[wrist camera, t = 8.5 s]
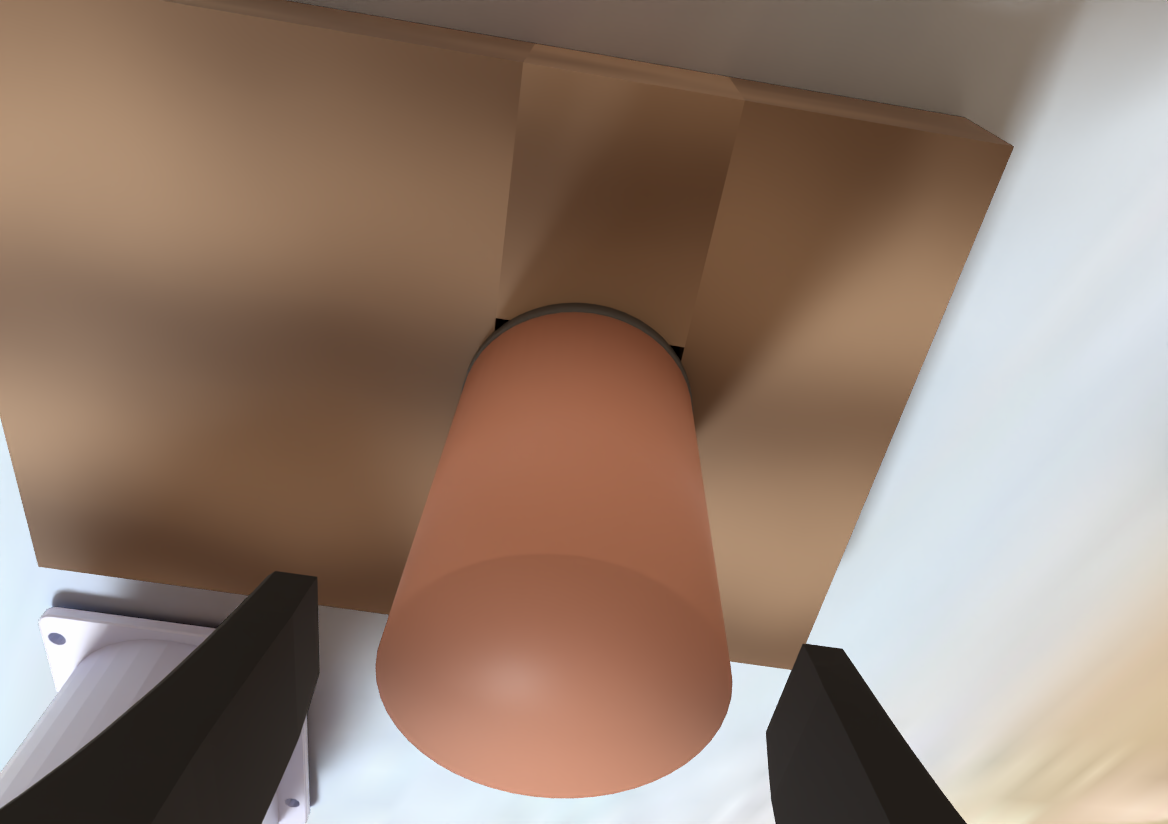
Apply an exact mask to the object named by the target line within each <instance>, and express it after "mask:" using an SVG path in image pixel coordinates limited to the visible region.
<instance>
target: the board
mask: <svg viewBox="0 0 1168 824" xmlns="http://www.w3.org/2000/svg"><path fill="white" fill-rule="evenodd" d="M1013 148H1014V146H1012V145H1011V144H1009V143H1007V142H1006V141H1004V140H1002V139H1000V138H999V137H997V136H995V135H994V134H992V133H990V132H988V131H987V130H985V129H983V128H982V127H980V126H978V125H977V124H975V123H973V122H971V121H970V120H968V119H966V118H965V117H959V116H953V115H948V114H942V113H936V112H930V111H924V110H919V109H913V108H907V107H901V106H895V105H890V104H884V103H878V102H872V101H866V100H861V99H855V98H849V97H843V96H837V95H832V94H826V93H820V92H814V91H808V90H803V89H797V88H791V87H785V86H779V85H774V84H768V83H762V82H756V81H750V80H745V79H739V78H733V77H727V76H721V75H716V74H710V73H704V72H698V71H692V70H687V69H681V68H675V67H669V66H663V65H658V64H652V63H646V62H640V61H634V60H629V59H623V58H617V57H611V56H605V55H600V54H594V53H588V52H582V51H576V50H571V49H565V48H559V47H553V46H547V45H542V44H536V43H530V42H524V41H518V40H513V39H507V38H501V37H495V36H489V35H483V34H478V33H472V32H466V31H460V30H454V29H449V28H443V27H437V26H431V25H425V24H420V23H414V22H408V21H402V20H396V19H391V18H385V17H379V16H373V15H367V14H362V13H356V12H350V11H344V10H338V9H333V8H327V7H321V6H315V5H309V4H304V3H298V2H292V1H286V0H0V418H1V422H2V426H3V429H4V433H5V437H6V441H7V445H8V449H9V453H10V457H11V461H12V465H13V469H14V472H15V476H16V480H17V484H18V488H19V492H20V496H21V500H22V504H23V508H24V512H25V516H26V519H27V523H28V527H29V531H30V535H31V539H32V543H33V547H34V551H35V555H36V559H37V562H38V566H39V567H45V568H52V569H60V570H67V571H74V572H81V573H89V574H96V575H103V576H111V577H118V578H125V579H133V580H140V581H147V582H154V583H162V584H169V585H176V586H184V587H191V588H198V589H206V590H213V591H220V592H227V593H235V594H242V595H250V594H251V593H252V592H253V591H254V590H255V589H256V588H257V587H258V585H259V584H260V583H261V582H262V581H263V580H264V579H265V578H266V577H267V576H268V575H270V574H271V573H273V572H274V571H280V572H287V573H294V574H301V575H309V576H316V577H317V580H318V605H322V606H330V607H337V608H344V609H352V610H359V611H366V612H373V613H381V614H388V615H389V614H390V611H391V607H392V604H393V601H394V598H395V595H396V592H397V589H398V586H399V583H400V580H401V577H402V574H403V571H404V568H405V565H406V562H407V559H408V556H409V553H410V549H411V546H412V543H413V540H414V537H415V534H416V531H417V528H418V525H419V522H420V519H421V516H422V513H423V510H424V507H425V504H426V501H427V498H428V495H429V491H430V488H431V485H432V482H433V479H434V476H435V473H436V470H437V467H438V464H439V461H440V458H441V455H442V452H443V449H444V446H445V443H446V440H447V437H448V433H449V430H450V427H451V424H452V421H453V418H454V415H455V412H456V409H457V406H458V403H459V400H460V397H461V391H462V386H463V383H464V380H465V377H466V374H467V371H468V368H469V365H470V363H471V361H472V359H473V357H474V355H475V354H476V352H477V351H478V349H479V348H480V347H481V345H482V344H483V342H484V341H485V340H486V339H487V338H488V337H489V336H490V335H491V334H492V333H493V332H494V331H495V330H497V329H498V328H499V327H501V326H502V325H503V324H504V319H506V320H511V319H513V318H514V317H516V316H518V315H520V314H523V313H525V312H527V311H530V310H532V309H536V308H539V307H543V306H547V305H553V304H560V303H589V304H597V305H601V306H606V307H611V308H613V309H616V310H619V311H622V312H625V313H627V314H629V315H631V316H633V317H635V318H637V319H639V320H641V321H642V322H644V323H645V324H647V325H648V326H650V327H651V328H653V329H654V330H655V331H656V332H657V333H658V334H660V335H661V336H662V337H663V338H664V339H665V340H666V341H667V343H668V344H669V345H670V346H671V347H672V348H673V350H674V351H675V353H676V354H677V356H678V357H679V359H680V360H681V362H682V365H683V367H684V369H685V371H686V373H687V377H688V380H689V384H690V388H691V394H692V402H693V417H694V424H695V431H696V438H697V444H698V451H699V458H700V464H701V471H702V478H703V485H704V491H705V498H706V505H707V511H708V518H709V525H710V532H711V538H712V545H713V552H714V558H715V565H716V572H717V579H718V585H719V592H720V599H721V605H722V612H723V619H724V626H725V632H726V639H727V646H728V652H729V659H730V661H731V662H738V663H746V664H753V665H760V666H768V667H775V668H782V669H789V670H792V668H793V666H794V663H795V661H796V658H797V656H798V654H799V651H800V649H801V646H802V644H806V642H807V639H808V637H809V635H810V632H811V630H812V627H813V625H814V623H815V620H816V618H817V615H818V613H819V611H820V608H821V606H822V603H823V601H824V599H825V596H826V594H827V592H828V589H829V587H830V584H831V582H832V580H833V577H834V575H835V572H836V570H837V568H838V565H839V563H840V561H841V558H842V556H843V553H844V551H845V549H846V546H847V544H848V541H849V539H850V537H851V534H852V532H853V529H854V527H855V525H856V522H857V520H858V518H859V515H860V513H861V510H862V508H863V506H864V503H865V501H866V498H867V496H868V494H869V491H870V489H871V487H872V484H873V482H874V479H875V477H876V475H877V472H878V470H879V467H880V465H881V463H882V460H883V458H884V455H885V453H886V451H887V448H888V446H889V444H890V441H891V439H892V436H893V434H894V432H895V429H896V427H897V424H898V422H899V420H900V417H901V415H902V413H903V410H904V408H905V405H906V403H907V401H908V398H909V396H910V393H911V391H912V389H913V386H914V384H915V381H916V379H917V377H918V374H919V372H920V370H921V367H922V365H923V362H924V360H925V358H926V355H927V353H928V350H929V348H930V346H931V343H932V341H933V339H934V336H935V334H936V331H937V329H938V327H939V324H940V322H941V319H942V317H943V315H944V312H945V310H946V307H947V305H948V303H949V300H950V298H951V296H952V293H953V291H954V288H955V286H956V284H957V281H958V279H959V276H960V274H961V272H962V269H963V267H964V265H965V262H966V260H967V257H968V255H969V253H970V250H971V248H972V245H973V243H974V241H975V238H976V236H977V233H978V231H979V229H980V226H981V224H982V222H983V219H984V217H985V214H986V212H987V210H988V207H989V205H990V202H991V200H992V198H993V195H994V193H995V191H996V188H997V186H998V183H999V181H1000V179H1001V176H1002V174H1003V171H1004V169H1005V167H1006V164H1007V162H1008V159H1009V157H1010V155H1011V152H1012V150H1013Z"/></svg>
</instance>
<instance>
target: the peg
mask: <svg viewBox="0 0 1168 824" xmlns="http://www.w3.org/2000/svg"><path fill="white" fill-rule="evenodd" d="M376 680H377V685H378V689H379V693H380V697H381V700H382V702H383V704H384V706H385V709H386V711H387V713H388V714H389V716H390V718H391V719H392V721H393V722H394V724H395V725H396V727H397V728H398V729H399V730H400V731H401V733H402V734H403V735H404V736H405V737H406V738H407V739H408V741H410V742H411V743H412V744H413V745H414V746H415V747H416V748H417V749H418V750H420V751H421V752H422V753H423V754H425V755H426V756H427V757H429V758H430V759H432V760H433V761H434V762H436V763H437V764H439V765H441V766H443V767H444V768H446V769H448V770H450V771H451V772H453V773H455V774H457V775H460V776H462V777H464V778H466V779H469V780H471V781H473V782H476V783H479V784H482V785H485V786H488V787H491V788H494V789H498V790H502V791H506V792H510V793H515V794H521V795H527V796H534V797H546V798H583V797H595V796H602V795H608V794H614V793H618V792H622V791H626V790H630V789H634V788H637V787H640V786H642V785H645V784H648V783H651V782H653V781H656V780H658V779H660V778H662V777H664V776H666V775H668V774H670V773H672V772H673V771H675V770H677V769H678V768H680V767H682V766H683V765H685V764H686V763H687V762H689V761H690V760H691V759H692V758H694V757H695V756H696V755H697V754H699V753H700V752H701V751H702V750H703V748H704V747H705V746H706V745H707V744H708V743H709V742H710V741H711V740H712V738H713V737H714V735H715V734H716V733H717V731H718V730H719V728H720V727H721V725H722V722H723V720H724V718H725V716H726V714H727V711H728V708H729V704H730V700H731V694H732V674H731V666H730V659H729V652H728V646H727V639H726V632H725V626H724V619H723V612H722V605H721V599H720V592H719V585H718V579H717V572H716V565H715V558H714V552H713V545H712V538H711V532H710V525H709V518H708V511H707V505H706V498H705V491H704V485H703V478H702V471H701V464H700V458H699V451H698V444H697V438H696V431H695V424H694V417H693V402H692V394H691V388H690V384H689V380H688V377H687V373H686V371H685V369H684V367H683V365H682V362H681V360H680V359H679V357H678V356H677V354H676V353H675V351H674V350H673V348H672V347H671V346H670V345H669V344H668V343H667V341H666V340H665V339H664V338H663V337H662V336H661V335H660V334H658V333H657V332H656V331H655V330H654V329H653V328H651V327H650V326H648V325H647V324H645V323H644V322H642V321H641V320H639V319H637V318H635V317H633V316H631V315H629V314H627V313H625V312H622V311H619V310H616V309H613V308H611V307H606V306H601V305H597V304H589V303H560V304H553V305H547V306H543V307H539V308H536V309H532V310H530V311H527V312H525V313H523V314H520V315H518V316H516V317H514V318H513V319H511V320H509V321H508V322H506V323H504V324H503V325H502V326H501V327H499V328H498V329H497V330H495V331H494V332H493V333H492V334H491V335H490V336H489V337H488V338H487V339H486V340H485V341H484V342H483V344H482V345H481V347H480V348H479V349H478V351H477V352H476V354H475V355H474V357H473V359H472V361H471V363H470V365H469V368H468V371H467V374H466V377H465V380H464V383H463V386H462V391H461V397H460V400H459V403H458V406H457V409H456V412H455V415H454V418H453V421H452V424H451V427H450V430H449V433H448V437H447V440H446V443H445V446H444V449H443V452H442V455H441V458H440V461H439V464H438V467H437V470H436V473H435V476H434V479H433V482H432V485H431V488H430V491H429V495H428V498H427V501H426V504H425V507H424V510H423V513H422V516H421V519H420V522H419V525H418V528H417V531H416V534H415V537H414V540H413V543H412V546H411V549H410V553H409V556H408V559H407V562H406V565H405V568H404V571H403V574H402V577H401V580H400V583H399V586H398V589H397V592H396V595H395V598H394V601H393V604H392V607H391V611H390V614H389V617H388V620H387V623H386V626H385V629H384V632H383V635H382V638H381V641H380V644H379V647H378V651H377V659H376Z"/></svg>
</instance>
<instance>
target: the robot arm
mask: <svg viewBox="0 0 1168 824" xmlns="http://www.w3.org/2000/svg"><path fill="white" fill-rule="evenodd" d="M38 624H39V628H40V632H41V636H42V639H43V643H44V647H45V650H46V654H47V658H48V662H49V665H50V669H51V673H52V676H53V680H54V684H55V688H56V691H57V695H56V696H55V698H54V699H53V700H52V702H51V703H50V705H49V706H48V707H47V709H46V710H45V712H44V713H43V714H42V716H41V717H40V718H39V720H38V721H37V723H36V724H35V725H34V727H33V728H32V730H31V731H30V732H29V734H28V735H27V737H26V738H25V739H24V741H23V742H22V743H21V745H20V746H19V748H18V749H17V750H16V752H15V753H14V755H13V756H12V757H11V759H10V760H9V762H8V763H7V764H6V766H5V767H4V768H3V770H2V771H1V773H0V824H305V823H307V820H308V817H309V814H310V796H309V766H308V737H307V712H308V709H309V706H310V702H311V699H312V696H313V692H314V689H315V686H316V683H317V679H318V676H319V631H318V580H317V577H316V576H309V575H301V574H294V573H287V572H280V571H274V572H273V573H271V574H270V575H268V576H267V577H266V578H265V579H264V580H263V581H262V582H261V583H260V584H259V585H258V587H257V588H256V589H255V590H254V591H253V592H252V593H251V594H250V595H249V596H248V597H247V598H246V599H245V600H244V601H243V602H242V603H241V604H240V605H239V606H238V607H237V608H236V609H235V610H234V611H233V612H232V613H231V614H230V615H229V616H228V618H227V619H226V620H225V621H224V622H223V623H221V624H220V625H219V626H218V627H217V628H209V627H201V626H194V625H186V624H179V623H172V622H164V621H157V620H149V619H142V618H135V617H127V616H120V615H112V614H105V613H97V612H90V611H83V610H75V609H68V608H60V607H51V608H49V609H47V610H46V611H45V612H44V613H43V615H42V616H41V617H40V618H39V620H38ZM766 740H767V755H768V769H769V780H770V790H771V801H772V806H773V812H774V817H775V822H776V824H967V823H966V822H965V821H964V820H963V818H962V817H961V816H960V815H959V813H958V812H957V811H956V809H955V808H954V807H953V805H952V804H951V803H950V802H949V800H948V799H947V798H946V796H945V795H944V794H943V792H942V791H941V789H940V788H939V787H938V785H937V784H936V783H935V781H934V780H933V778H932V777H931V776H930V774H929V773H928V772H927V770H926V769H925V767H924V766H923V765H922V763H921V762H920V761H919V759H918V758H917V756H916V755H915V754H914V752H913V751H912V750H911V748H910V747H909V745H908V744H907V742H906V741H905V740H904V738H903V737H902V735H901V734H900V732H899V731H898V729H897V728H896V727H895V725H894V724H893V722H892V721H891V719H890V718H889V716H888V715H887V713H886V712H885V710H884V709H883V708H882V706H881V705H880V703H879V702H878V700H877V699H876V697H875V696H874V694H873V693H872V691H871V690H870V688H869V687H868V685H867V684H866V682H865V681H864V679H863V678H862V676H861V675H860V674H859V672H858V671H857V669H856V668H855V666H854V665H853V663H852V662H851V660H850V659H849V657H848V656H847V655H846V653H845V652H844V650H843V649H840V648H832V647H825V646H818V645H810V644H802V646H801V649H800V651H799V654H798V656H797V658H796V661H795V663H794V666H793V668H792V671H791V673H790V675H789V678H788V680H787V683H786V685H785V687H784V690H783V692H782V695H781V697H780V699H779V702H778V704H777V707H776V709H775V712H774V714H773V716H772V719H771V721H770V724H769V726H768V728H767V731H766Z"/></svg>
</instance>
